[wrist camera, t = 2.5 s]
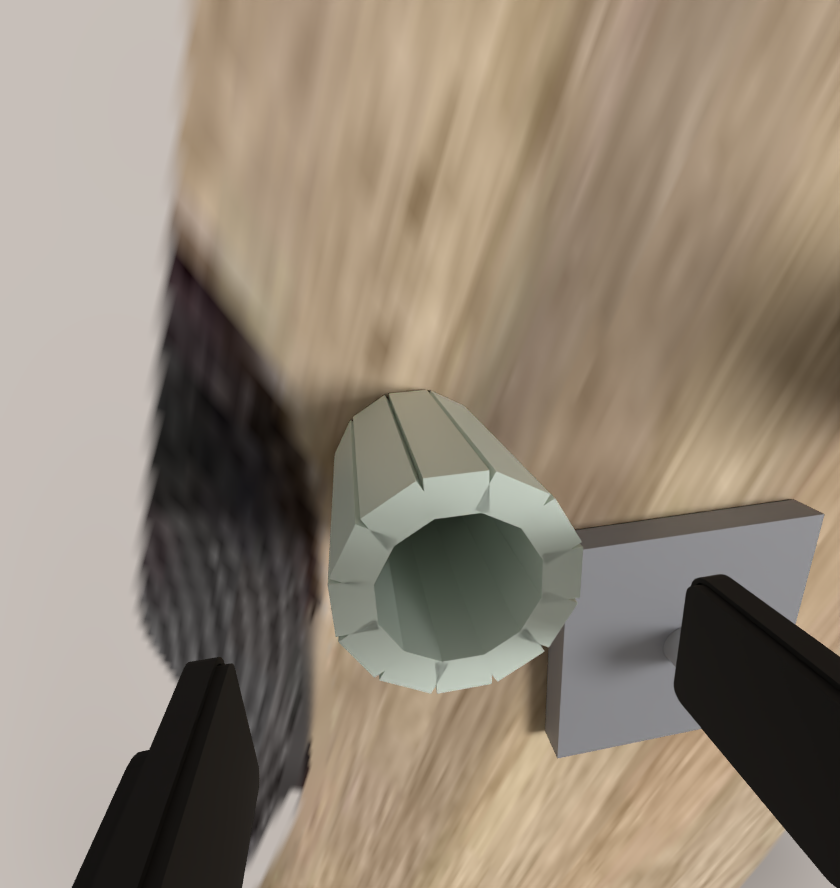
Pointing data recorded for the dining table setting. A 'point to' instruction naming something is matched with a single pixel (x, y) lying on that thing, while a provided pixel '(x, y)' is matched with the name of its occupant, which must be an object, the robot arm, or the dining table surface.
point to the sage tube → (443, 548)
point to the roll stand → (660, 614)
